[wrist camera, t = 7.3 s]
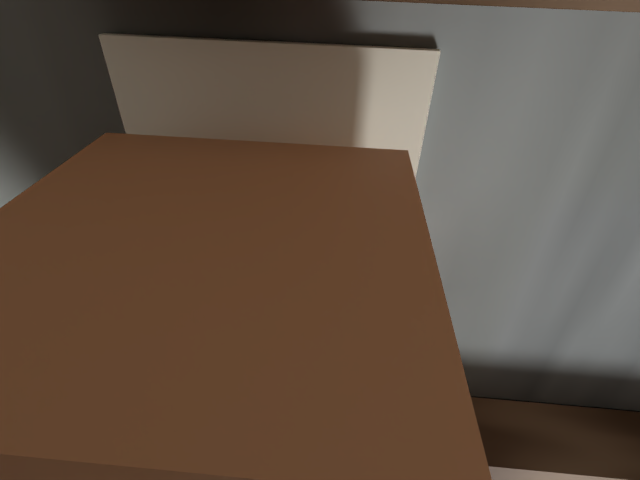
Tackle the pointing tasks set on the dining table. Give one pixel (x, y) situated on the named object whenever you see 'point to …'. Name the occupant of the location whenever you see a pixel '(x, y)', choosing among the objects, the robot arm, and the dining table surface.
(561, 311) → the dining table surface
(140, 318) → the block
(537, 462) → the bay
